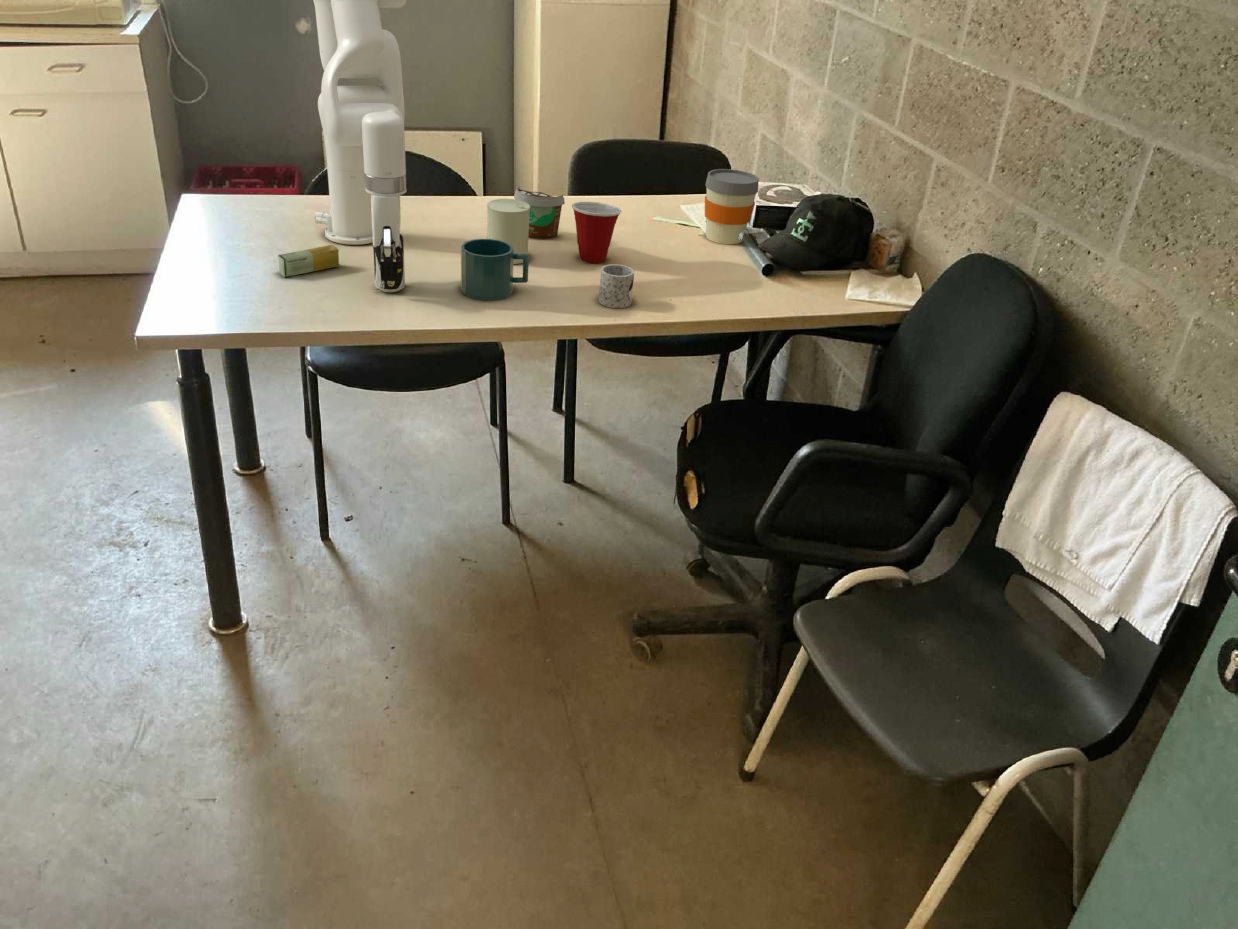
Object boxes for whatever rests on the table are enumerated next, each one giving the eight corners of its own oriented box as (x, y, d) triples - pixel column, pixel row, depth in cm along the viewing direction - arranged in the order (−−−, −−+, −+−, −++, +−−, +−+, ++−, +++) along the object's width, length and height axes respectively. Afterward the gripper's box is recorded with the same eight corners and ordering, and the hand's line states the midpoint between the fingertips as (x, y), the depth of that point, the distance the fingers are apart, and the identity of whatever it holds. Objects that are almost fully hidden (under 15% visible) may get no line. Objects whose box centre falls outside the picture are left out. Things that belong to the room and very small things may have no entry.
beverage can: (378, 295, 188) (375, 235, 182) (372, 284, 193) (369, 225, 186) (408, 292, 190) (406, 233, 184) (401, 282, 195) (399, 224, 189)
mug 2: (635, 307, 194) (638, 276, 190) (603, 308, 192) (606, 276, 188) (621, 288, 202) (623, 258, 198) (590, 289, 200) (592, 258, 196)
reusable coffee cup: (725, 250, 228) (734, 186, 220) (688, 234, 236) (695, 172, 228) (760, 241, 235) (770, 179, 227) (723, 226, 243) (732, 166, 235)
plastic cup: (625, 257, 218) (629, 204, 212) (604, 271, 209) (608, 217, 203) (582, 247, 221) (585, 195, 215) (560, 260, 213) (562, 206, 207)
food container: (503, 233, 225) (504, 191, 219) (515, 226, 230) (517, 184, 224) (551, 244, 221) (553, 201, 216) (563, 237, 226) (565, 194, 221)
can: (521, 267, 208) (523, 212, 201) (480, 260, 209) (481, 205, 202) (533, 253, 215) (535, 199, 209) (493, 247, 216) (494, 194, 210)
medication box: (284, 278, 192) (282, 259, 189) (278, 272, 193) (276, 254, 191) (340, 266, 199) (339, 248, 196) (333, 261, 200) (332, 243, 198)
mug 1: (462, 300, 190) (462, 256, 185) (459, 280, 198) (459, 238, 193) (530, 300, 192) (531, 257, 188) (524, 281, 201) (526, 239, 196)
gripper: (366, 169, 187) (371, 256, 196) (363, 196, 173) (368, 289, 182) (406, 170, 188) (408, 256, 198) (406, 197, 174) (409, 289, 183)
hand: (389, 271), depth 190 cm, fingers open, 7 cm apart
